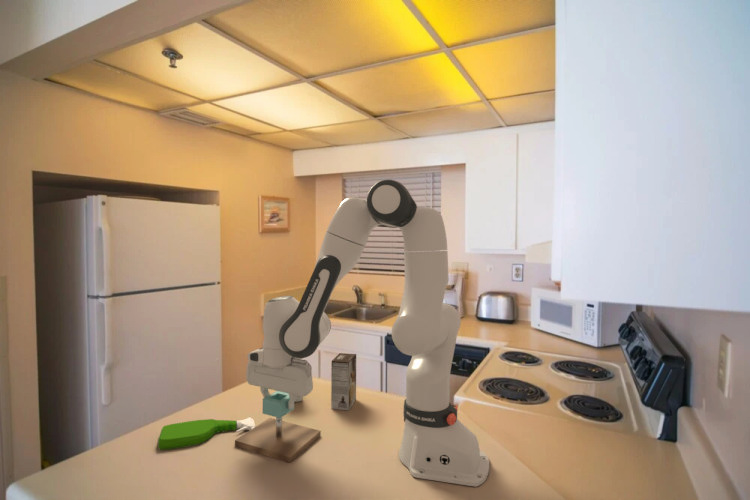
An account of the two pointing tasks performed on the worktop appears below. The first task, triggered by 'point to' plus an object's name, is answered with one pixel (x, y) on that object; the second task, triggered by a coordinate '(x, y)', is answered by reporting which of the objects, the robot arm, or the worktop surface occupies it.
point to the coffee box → (343, 381)
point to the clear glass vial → (278, 426)
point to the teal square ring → (276, 404)
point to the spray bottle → (198, 431)
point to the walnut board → (278, 440)
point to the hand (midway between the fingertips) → (278, 405)
